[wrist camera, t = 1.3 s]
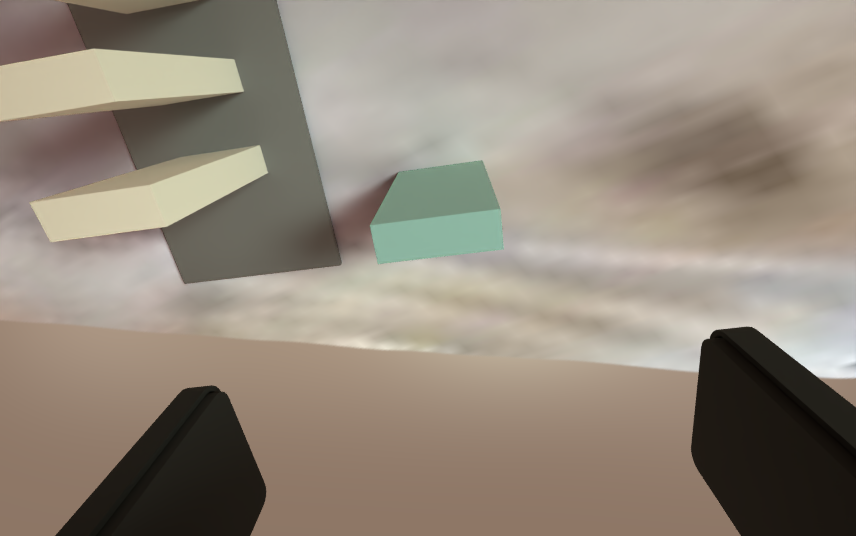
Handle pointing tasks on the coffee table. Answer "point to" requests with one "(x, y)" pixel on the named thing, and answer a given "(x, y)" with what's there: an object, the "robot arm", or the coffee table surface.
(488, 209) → the teal domino
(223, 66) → the domino
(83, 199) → the domino
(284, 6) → the coffee table surface
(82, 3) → the domino
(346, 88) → the coffee table surface
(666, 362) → the coffee table surface
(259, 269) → the domino mat
